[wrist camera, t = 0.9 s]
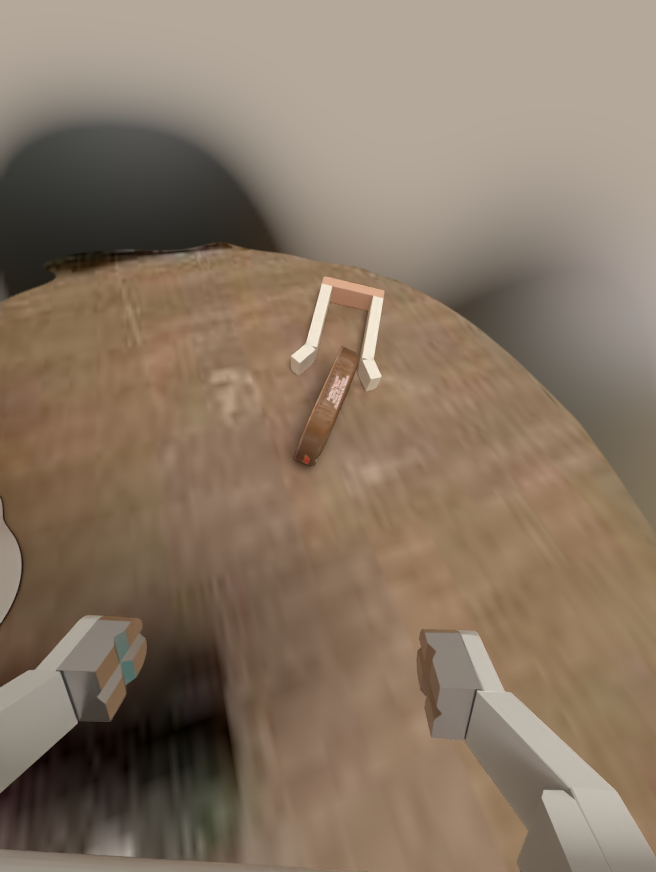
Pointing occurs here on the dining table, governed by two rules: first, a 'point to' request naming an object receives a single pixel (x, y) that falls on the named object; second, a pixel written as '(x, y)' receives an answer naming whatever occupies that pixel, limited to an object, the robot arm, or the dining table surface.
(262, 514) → the dining table surface
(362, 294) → the guide channel
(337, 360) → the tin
